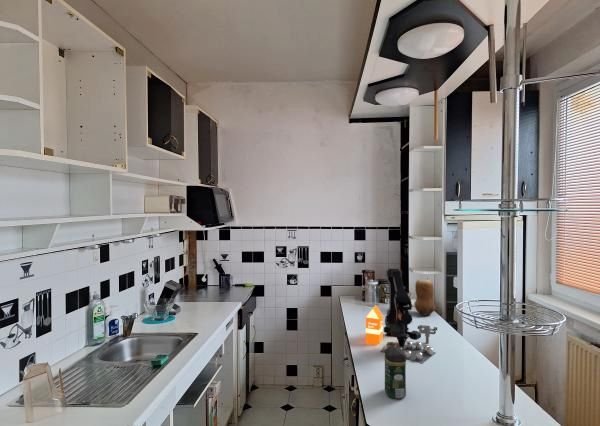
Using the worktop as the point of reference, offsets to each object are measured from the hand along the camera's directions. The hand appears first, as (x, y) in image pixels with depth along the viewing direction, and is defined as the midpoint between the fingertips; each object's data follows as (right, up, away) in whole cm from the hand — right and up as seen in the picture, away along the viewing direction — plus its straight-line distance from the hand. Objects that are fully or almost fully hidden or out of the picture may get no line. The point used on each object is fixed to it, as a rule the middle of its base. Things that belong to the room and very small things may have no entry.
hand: (401, 348), depth 200 cm
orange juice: (-12, -2, +14) cm, 19 cm away
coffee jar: (-15, -3, -44) cm, 46 cm away
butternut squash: (+34, 0, +65) cm, 73 cm away
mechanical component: (+17, -2, +11) cm, 20 cm away
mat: (+3, -2, -2) cm, 4 cm away
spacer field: (+3, -2, -2) cm, 4 cm away
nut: (-5, -1, +3) cm, 6 cm away
